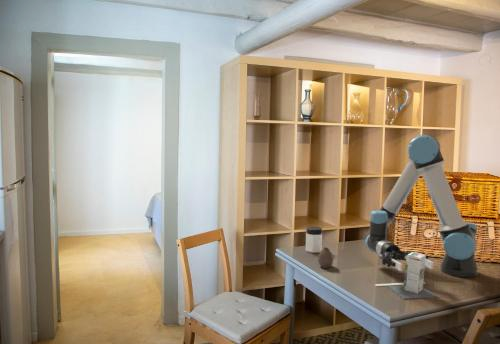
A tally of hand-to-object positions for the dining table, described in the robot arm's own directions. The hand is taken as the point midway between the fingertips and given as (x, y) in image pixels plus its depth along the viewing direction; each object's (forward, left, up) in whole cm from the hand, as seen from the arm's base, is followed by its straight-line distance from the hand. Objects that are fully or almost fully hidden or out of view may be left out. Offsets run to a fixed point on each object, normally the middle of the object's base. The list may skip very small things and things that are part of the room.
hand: (417, 266), depth 158 cm
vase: (+24, -35, -11) cm, 43 cm away
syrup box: (0, -2, -10) cm, 11 cm away
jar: (+21, -60, -11) cm, 64 cm away
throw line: (+1, -9, -11) cm, 14 cm away
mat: (+1, -1, -11) cm, 11 cm away
